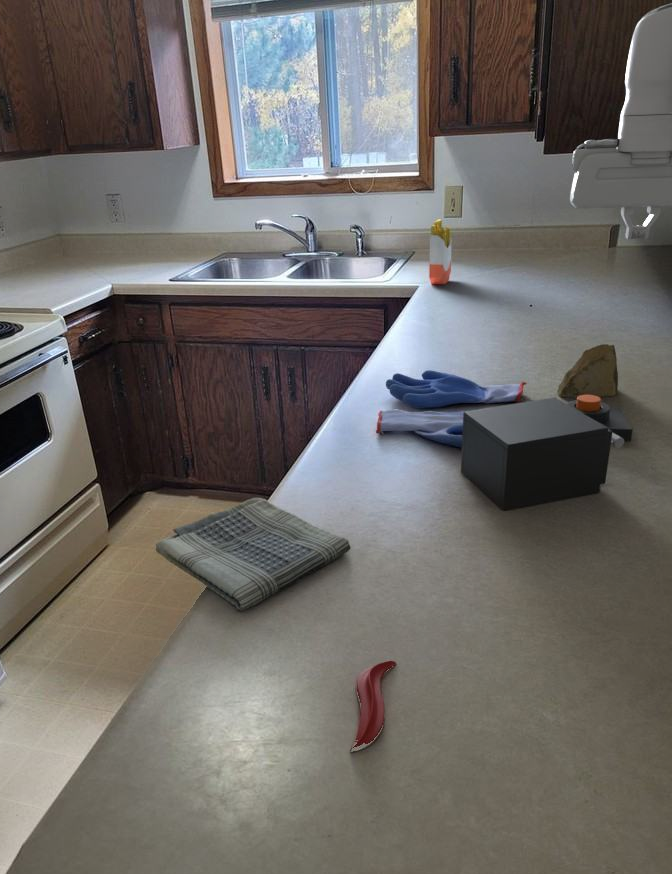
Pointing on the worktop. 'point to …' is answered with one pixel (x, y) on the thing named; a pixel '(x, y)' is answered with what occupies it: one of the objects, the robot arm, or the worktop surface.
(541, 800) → the worktop surface
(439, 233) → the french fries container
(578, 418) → the matte charcoal box
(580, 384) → the rock
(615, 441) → the drawer
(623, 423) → the push button unit
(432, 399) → the pair of gloves
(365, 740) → the cayenne pepper
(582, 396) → the button
